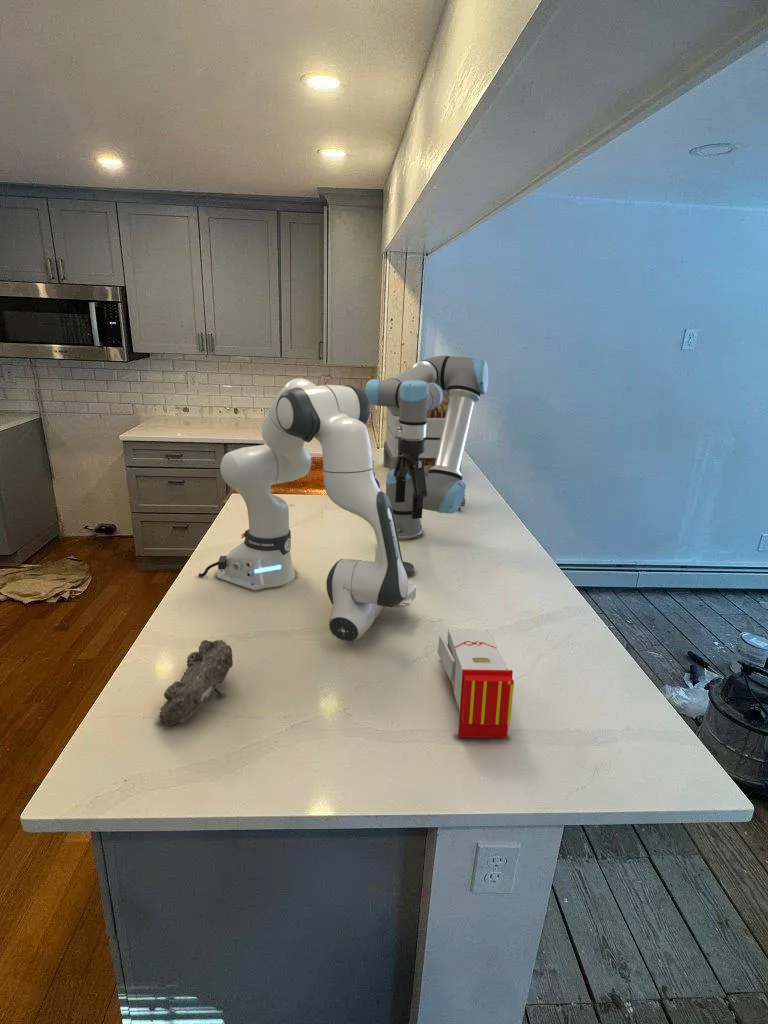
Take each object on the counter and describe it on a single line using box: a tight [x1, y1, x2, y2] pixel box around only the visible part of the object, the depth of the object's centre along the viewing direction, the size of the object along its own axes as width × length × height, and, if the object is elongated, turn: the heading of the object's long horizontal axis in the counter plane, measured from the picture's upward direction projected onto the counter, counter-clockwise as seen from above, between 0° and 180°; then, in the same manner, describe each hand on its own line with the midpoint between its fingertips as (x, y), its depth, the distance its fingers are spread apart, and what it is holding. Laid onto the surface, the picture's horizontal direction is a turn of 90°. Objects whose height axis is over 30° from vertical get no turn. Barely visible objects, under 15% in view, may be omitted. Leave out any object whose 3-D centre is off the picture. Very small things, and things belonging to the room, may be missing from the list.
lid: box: [403, 561, 415, 578], centre depth 170 cm, size 6×6×2 cm
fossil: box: [158, 639, 234, 726], centre depth 113 cm, size 22×10×15 cm
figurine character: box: [458, 493, 466, 511], centre depth 229 cm, size 7×8×15 cm
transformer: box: [383, 390, 463, 474], centre depth 268 cm, size 34×33×41 cm
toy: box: [437, 628, 515, 738], centre depth 117 cm, size 12×13×30 cm
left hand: (385, 576), depth 153 cm, fingers open, 7 cm apart
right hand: (408, 509), depth 164 cm, fingers open, 13 cm apart
